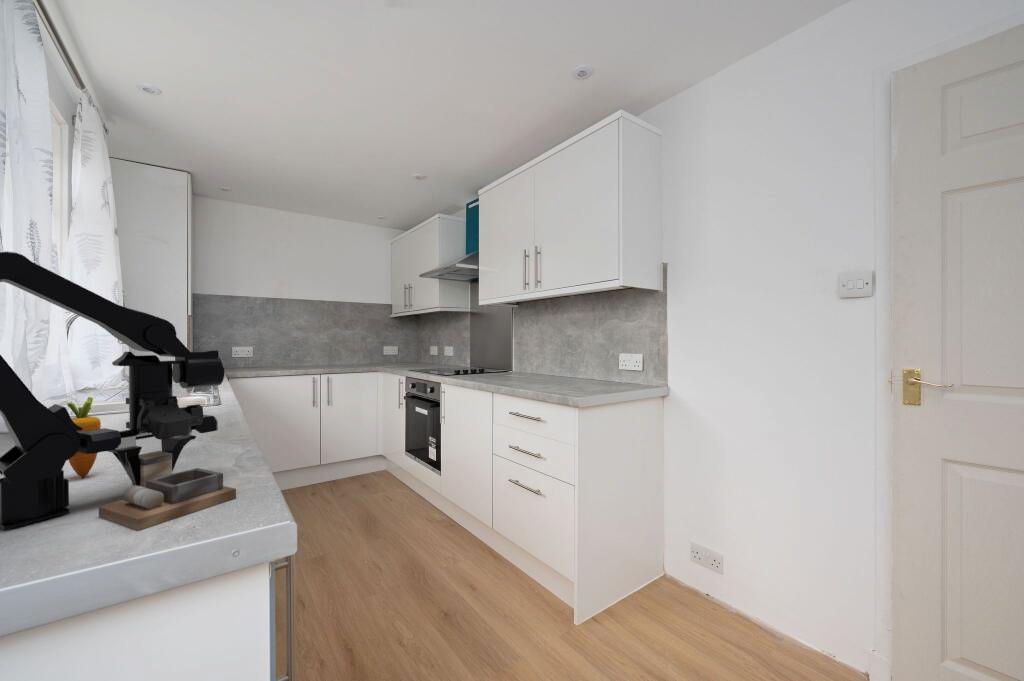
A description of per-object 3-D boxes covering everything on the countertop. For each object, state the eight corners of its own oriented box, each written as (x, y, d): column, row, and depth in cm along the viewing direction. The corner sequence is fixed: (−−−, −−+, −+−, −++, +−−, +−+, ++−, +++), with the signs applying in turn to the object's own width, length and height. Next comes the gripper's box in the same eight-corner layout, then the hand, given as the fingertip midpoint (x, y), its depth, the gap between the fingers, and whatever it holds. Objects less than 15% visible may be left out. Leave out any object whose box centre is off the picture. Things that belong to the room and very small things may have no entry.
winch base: (138, 530, 58) (137, 500, 58) (98, 516, 62) (98, 489, 62) (236, 498, 69) (235, 473, 69) (196, 488, 74) (196, 465, 74)
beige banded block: (144, 495, 71) (143, 459, 71) (131, 491, 73) (131, 456, 73) (172, 487, 75) (172, 453, 75) (160, 484, 77) (159, 450, 77)
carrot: (66, 483, 77) (65, 400, 77) (62, 478, 80) (61, 398, 80) (104, 476, 81) (103, 397, 81) (98, 471, 84) (97, 395, 84)
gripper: (104, 400, 62) (105, 509, 62) (235, 387, 79) (236, 472, 79) (69, 397, 67) (70, 497, 67) (200, 385, 84) (200, 465, 84)
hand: (152, 481), depth 74 cm, fingers closed on beige banded block, 4 cm apart
